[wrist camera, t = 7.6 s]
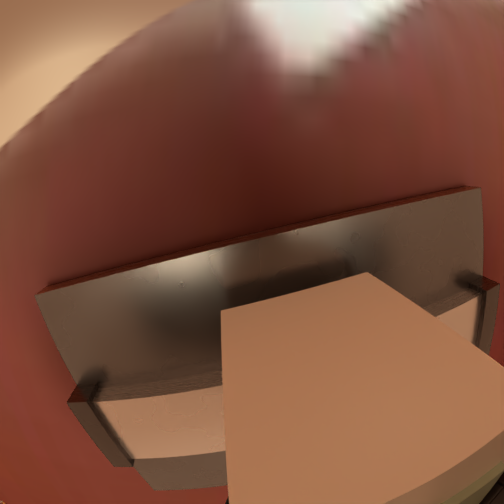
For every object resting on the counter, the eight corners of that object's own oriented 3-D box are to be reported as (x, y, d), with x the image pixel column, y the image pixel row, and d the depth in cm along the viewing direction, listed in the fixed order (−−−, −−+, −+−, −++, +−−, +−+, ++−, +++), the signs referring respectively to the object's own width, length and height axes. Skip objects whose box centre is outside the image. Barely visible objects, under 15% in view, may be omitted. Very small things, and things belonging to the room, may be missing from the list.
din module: (367, 271, 9) (548, 402, 2) (369, 448, 11) (427, 557, 4) (220, 310, 8) (232, 555, 2) (275, 477, 11) (304, 601, 4)
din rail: (465, 185, 10) (500, 189, 8) (452, 391, 13) (472, 411, 11) (46, 286, 10) (17, 307, 8) (156, 477, 13) (152, 506, 10)
